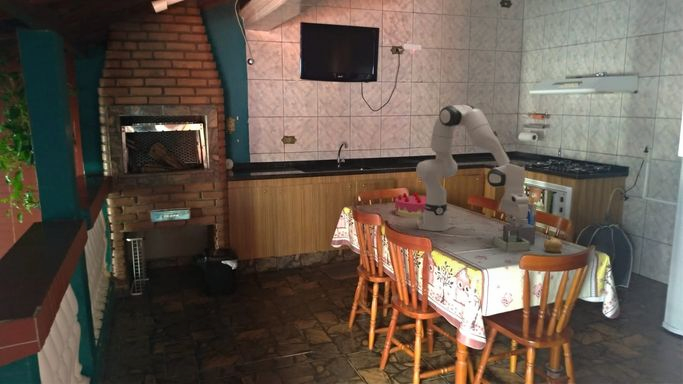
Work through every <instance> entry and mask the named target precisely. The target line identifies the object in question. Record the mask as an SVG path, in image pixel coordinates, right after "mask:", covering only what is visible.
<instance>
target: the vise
mask: <svg viewBox="0 0 683 384" xmlns="http://www.w3.org/2000/svg"><path fill="white" fill-rule="evenodd" d="M515 221H516V219H515V217H514V216H513V217H511V223H509V225H514V222H515ZM519 224H521V225H523V232H522V239H524V240H526V241H528V242H530V246H532V245H535V243H536V241H535V239H536V226H535V227H534V226H532V225H530V224H528V219H521V220H520V222H519ZM509 236H517V231H509Z"/></svg>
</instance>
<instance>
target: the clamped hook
mask: <svg viewBox="0 0 683 384" xmlns="http://www.w3.org/2000/svg"><path fill="white" fill-rule="evenodd" d="M527 204H528V208H530V215H535V216H536V215H537V204H535V203H533V202H530V201H529V202H528V203H527Z"/></svg>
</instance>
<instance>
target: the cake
mask: <svg viewBox="0 0 683 384" xmlns="http://www.w3.org/2000/svg"><path fill="white" fill-rule="evenodd" d="M425 204H426V195H419V194H418V192H417V191H415V192H414V193H413V195H407V192H404V193H403V194H402V195H401V194H398V196H397V197H396V198H394V209H395V215H396V214H398V215H400V216H399V217H401V216H404V217H403V218H405V217H409V218H408V219H415V218H419V216H421V214H422V213H423V211H424V210H425ZM398 215H397V216H398Z"/></svg>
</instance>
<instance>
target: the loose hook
mask: <svg viewBox="0 0 683 384" xmlns="http://www.w3.org/2000/svg"><path fill="white" fill-rule="evenodd" d="M502 226H503V227H502V236H503V241H504V242H506V243H508V236H509V235H510V231H517V239H516V243H519V242H522V232H523V225H521V224H519V226H514V225H510V224H503V225H502Z"/></svg>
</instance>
